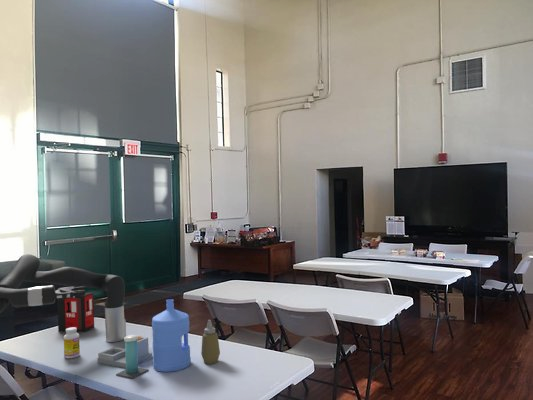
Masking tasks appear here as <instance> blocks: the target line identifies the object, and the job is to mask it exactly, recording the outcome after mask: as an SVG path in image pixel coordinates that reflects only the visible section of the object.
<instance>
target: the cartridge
mask: <svg viewBox="0 0 533 400" xmlns="http://www.w3.org/2000/svg"><path fill="white" fill-rule="evenodd" d="M138 336H139V335H137V334H129V335H126V337H124V339H123V341H124V348H125V357H126V368H125V370H126V373H127V374H133V373H136V372H138V367H139V364H138V350H137V340H138Z"/></svg>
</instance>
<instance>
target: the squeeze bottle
mask: <svg viewBox="0 0 533 400" xmlns="http://www.w3.org/2000/svg"><path fill="white" fill-rule="evenodd" d="M220 350H221V349H220V343H219V336H218V332H216V328H215V327H214V326H213V323H212V320H211V319H208V320H207V324H206V327H205V328H204V333H203V334H202V339H201V352H200V353H201V357H202V360H203V363H205V364H208V365H211V364H215V363H218V361H219V358H220V354H221V351H220Z"/></svg>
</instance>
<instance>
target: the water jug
mask: <svg viewBox="0 0 533 400" xmlns="http://www.w3.org/2000/svg"><path fill="white" fill-rule="evenodd" d="M165 301H166V305H165V306H166V309H165V310H163V311H162V312H160V313H158V314H156V315H154V316H153V317H152V319H151V320H152V321H151V328H152V331H151V332H152V350H153V351H152V352H153V353H152V358H153V359H152V365H153V368H154V369H155V370H156V371H158V372H162V373H171V372H172V373H173V372H178V371H181V370H184V369H186V368H187V367H189V366H190V364H191V362H192V360H191V359H192V357H191V347H190V345H189V334H188V333H189V332H190V316H189V314H188V313H186V312H183V311H181V310H178V309H175V303H174V301H175V300H174V299H172V298H171V299H166V300H165ZM182 337H183V339H182ZM182 341H183V343H182Z"/></svg>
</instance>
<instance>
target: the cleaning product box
mask: <svg viewBox="0 0 533 400" xmlns="http://www.w3.org/2000/svg"><path fill="white" fill-rule="evenodd" d="M56 305H57V329H58V333H66V329H67V328H71V327H76V328H77V331H76V333H87V332H89V331H91V330H93V329H95V311H94V310H95V308H94V306H95V305H94V293H93V292H85V296H77V297H74V298H72V299H62V300H57V299H56Z"/></svg>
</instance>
